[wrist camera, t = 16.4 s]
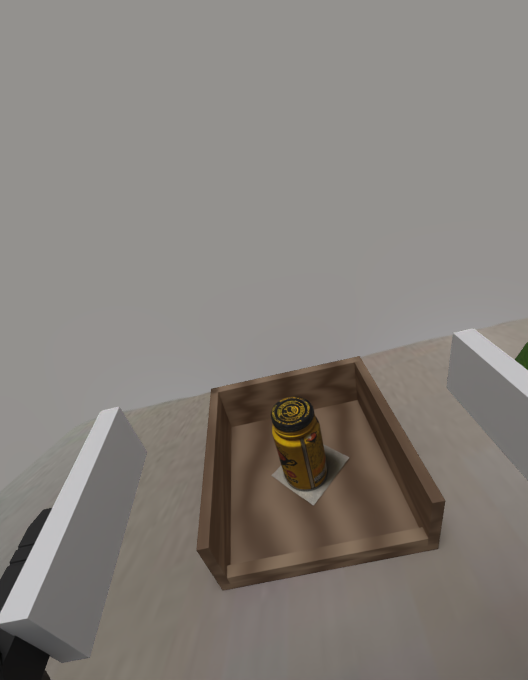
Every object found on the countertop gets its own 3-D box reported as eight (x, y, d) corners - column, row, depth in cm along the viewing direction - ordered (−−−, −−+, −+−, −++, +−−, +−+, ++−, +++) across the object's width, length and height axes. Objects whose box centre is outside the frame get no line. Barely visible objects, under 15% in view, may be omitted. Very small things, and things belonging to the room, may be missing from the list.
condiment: (271, 476, 45) (251, 416, 39) (307, 435, 50) (295, 376, 43) (313, 506, 40) (299, 443, 34) (349, 458, 45) (342, 395, 39)
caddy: (362, 399, 55) (359, 356, 50) (438, 548, 35) (445, 500, 30) (226, 428, 56) (211, 388, 51) (222, 590, 36) (196, 550, 31)
